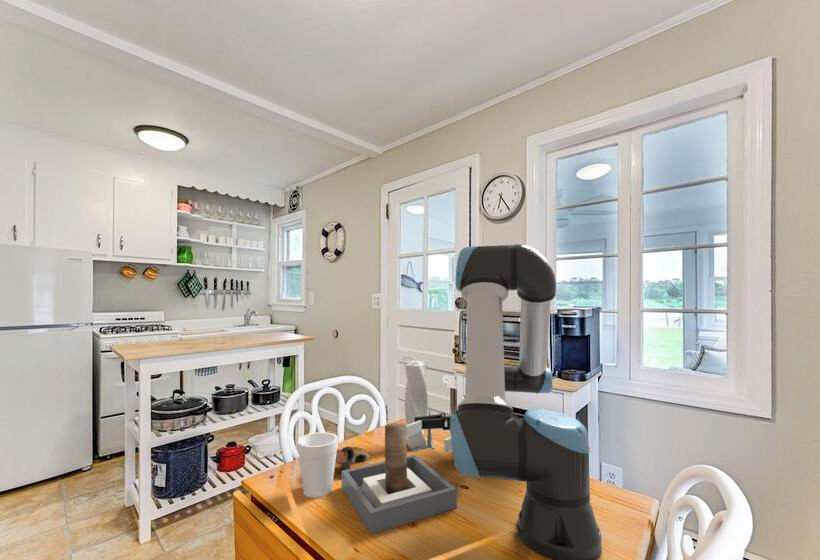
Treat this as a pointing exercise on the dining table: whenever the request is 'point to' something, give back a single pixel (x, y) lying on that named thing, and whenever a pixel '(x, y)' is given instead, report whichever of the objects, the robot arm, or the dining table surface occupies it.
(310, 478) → the foam cup
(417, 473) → the open box
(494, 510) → the dining table surface
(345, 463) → the pottery mug
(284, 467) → the dining table surface
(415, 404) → the skyscraper
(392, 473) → the walnut peg
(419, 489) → the bore plate
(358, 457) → the pastry
